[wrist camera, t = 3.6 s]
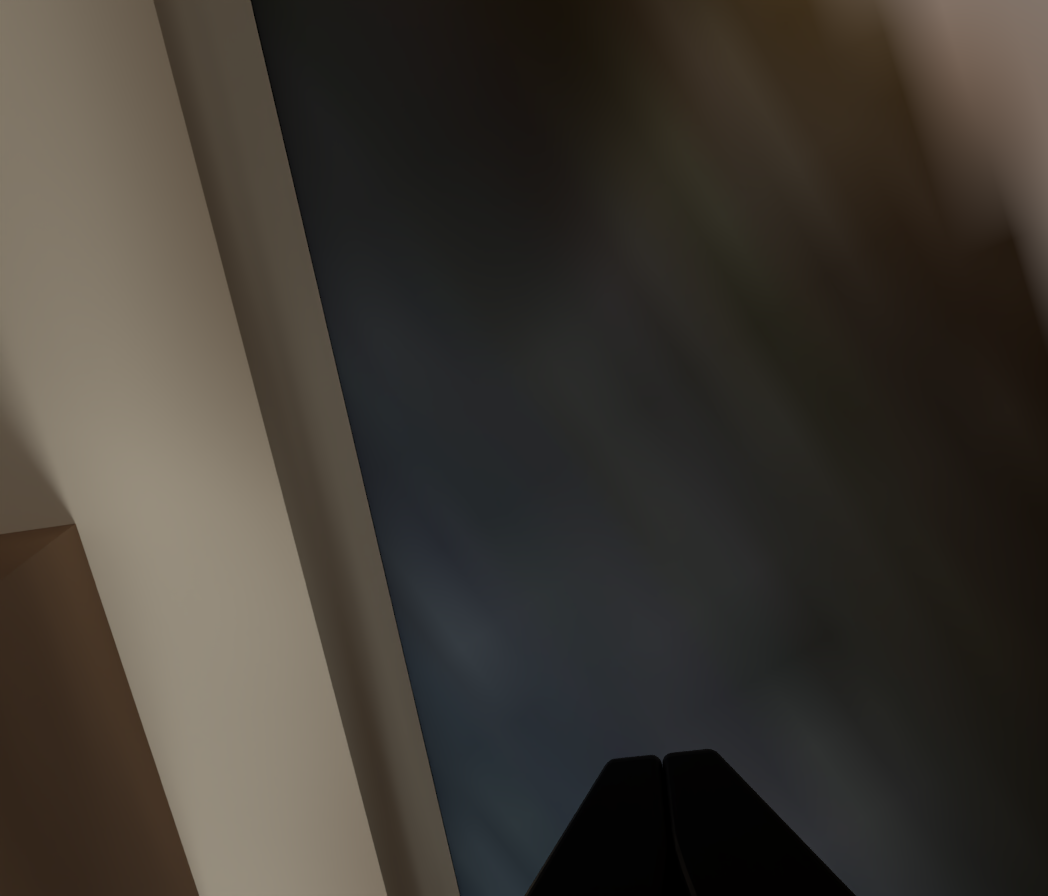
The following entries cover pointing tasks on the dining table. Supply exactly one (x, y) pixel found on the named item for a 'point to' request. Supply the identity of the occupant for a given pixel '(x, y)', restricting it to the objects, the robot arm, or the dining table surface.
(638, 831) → the robot arm
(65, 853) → the block
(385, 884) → the trap board
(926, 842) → the dining table surface
